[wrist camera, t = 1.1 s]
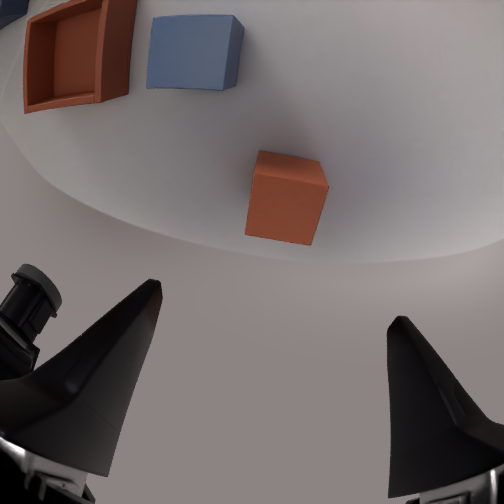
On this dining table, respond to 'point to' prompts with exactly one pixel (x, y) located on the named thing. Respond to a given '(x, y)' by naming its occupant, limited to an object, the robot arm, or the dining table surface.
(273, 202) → the terracotta block
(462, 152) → the dining table surface
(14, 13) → the slate bin
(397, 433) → the robot arm
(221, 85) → the slate block
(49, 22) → the terracotta bin
